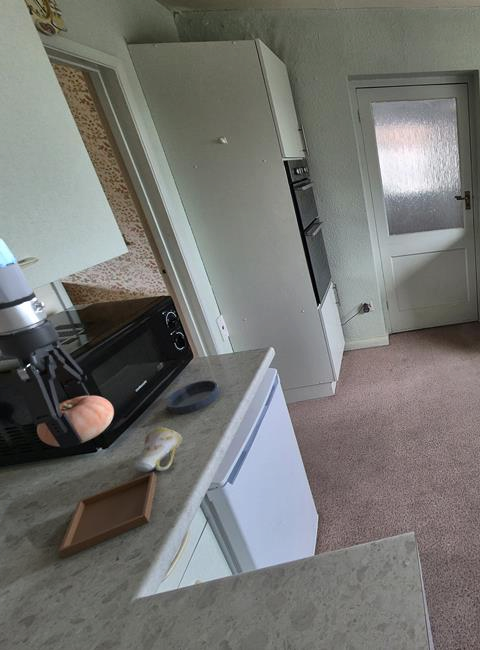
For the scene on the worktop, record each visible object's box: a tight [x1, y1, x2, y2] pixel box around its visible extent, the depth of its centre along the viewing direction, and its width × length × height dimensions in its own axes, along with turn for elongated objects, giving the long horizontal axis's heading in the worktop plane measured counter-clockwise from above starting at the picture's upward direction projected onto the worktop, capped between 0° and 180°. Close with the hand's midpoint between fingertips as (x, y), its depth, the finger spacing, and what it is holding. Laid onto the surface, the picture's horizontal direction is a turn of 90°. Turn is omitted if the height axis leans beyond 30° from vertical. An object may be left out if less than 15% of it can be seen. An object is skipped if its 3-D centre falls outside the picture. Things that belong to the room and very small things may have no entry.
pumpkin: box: [36, 395, 115, 448], centre depth 74 cm, size 11×11×8 cm
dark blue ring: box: [165, 379, 221, 415], centre depth 114 cm, size 13×13×2 cm
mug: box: [134, 427, 183, 473], centre depth 92 cm, size 8×10×10 cm
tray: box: [57, 471, 158, 559], centre depth 78 cm, size 13×13×2 cm
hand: (81, 427), depth 74 cm, fingers closed on pumpkin, 11 cm apart
